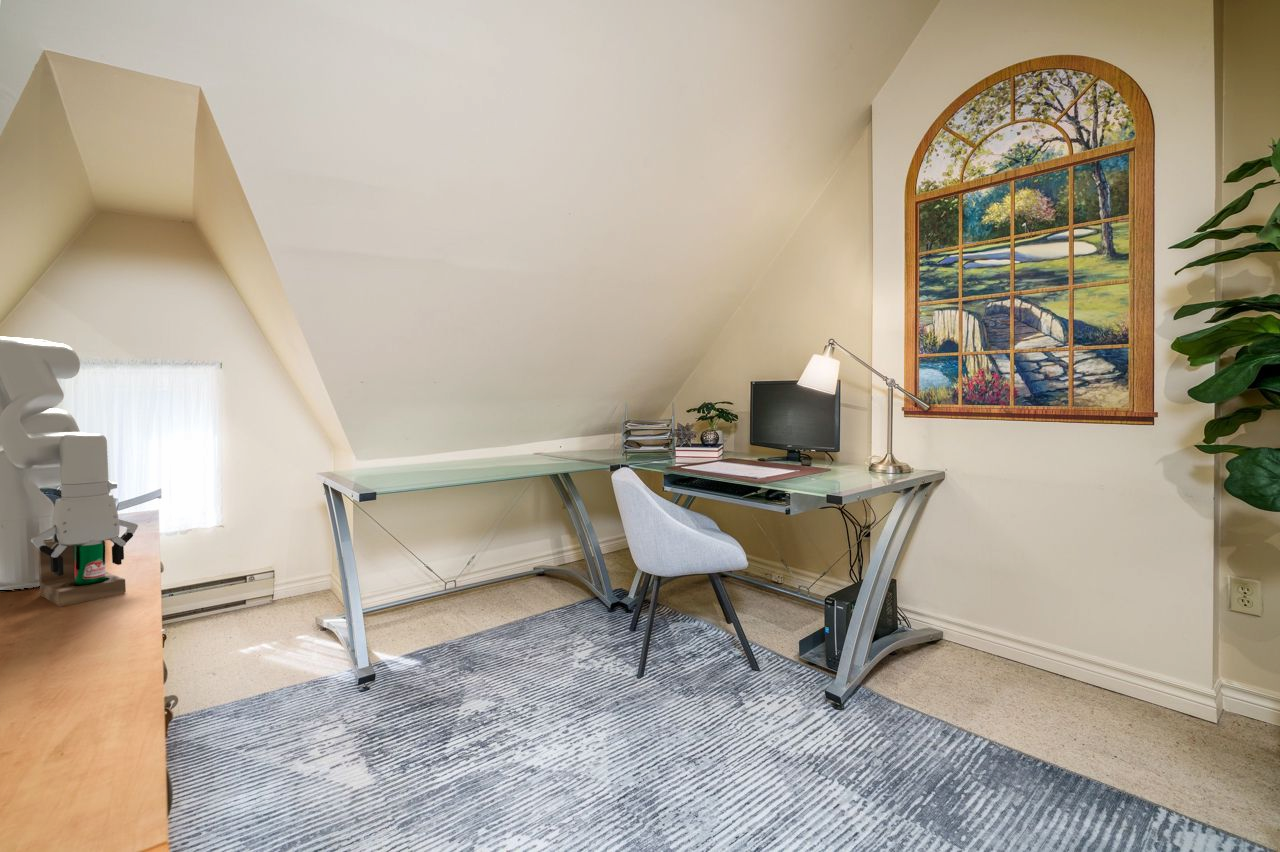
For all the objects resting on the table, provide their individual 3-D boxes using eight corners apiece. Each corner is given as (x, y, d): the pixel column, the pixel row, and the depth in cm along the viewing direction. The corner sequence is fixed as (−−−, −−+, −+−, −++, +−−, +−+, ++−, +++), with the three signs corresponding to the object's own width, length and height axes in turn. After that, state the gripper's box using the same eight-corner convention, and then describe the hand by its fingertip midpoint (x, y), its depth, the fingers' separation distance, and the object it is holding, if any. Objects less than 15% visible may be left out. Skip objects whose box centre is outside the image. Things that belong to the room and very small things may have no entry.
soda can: (85, 597, 125) (85, 541, 125) (67, 595, 126) (67, 540, 126) (111, 591, 130) (111, 537, 130) (93, 589, 131) (93, 535, 131)
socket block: (40, 595, 128) (37, 541, 128) (102, 583, 137) (100, 531, 137) (61, 606, 121) (58, 548, 121) (125, 592, 130) (123, 538, 130)
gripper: (129, 484, 137) (132, 557, 137) (23, 494, 122) (27, 576, 123) (142, 486, 133) (145, 562, 134) (35, 497, 118) (39, 582, 119)
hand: (88, 569), depth 128 cm, fingers open, 9 cm apart
